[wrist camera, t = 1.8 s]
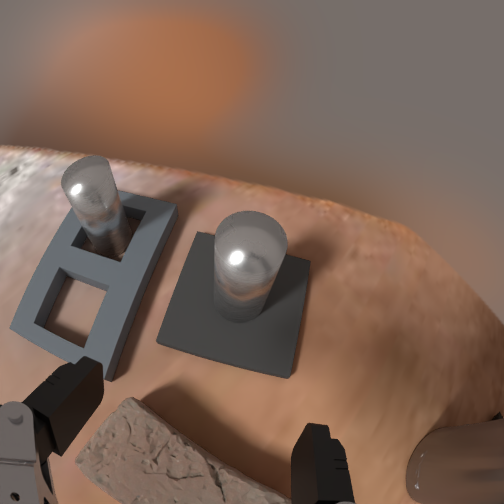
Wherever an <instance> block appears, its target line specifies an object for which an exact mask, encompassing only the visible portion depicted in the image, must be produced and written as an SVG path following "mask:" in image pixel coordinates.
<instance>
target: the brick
mask: <svg viewBox="0 0 504 504" xmlns="http://www.w3.org/2000/svg"><path fill="white" fill-rule="evenodd" d="M75 464H76V465H77V467H78V468H79V469H80V470H81V471H82V473H83V474H84V476H85V477H86V478H88V479H89V480H90V481H91V482H93V483H94V484H95V485H96V486H98V487H99V488H100V489H101V490H103V491H104V492H105V493H107V494H108V495H110V496H111V497H113V498H114V499H116V500H117V501H119V502H120V503H122V504H291V499H290V498H287V497H286V496H285V495H283V494H281V493H279V492H278V491H276V490H274V489H272V488H270V487H267V486H265V485H263V484H261V483H258V482H256V481H255V480H253V479H252V478H250V477H248V476H246V475H244V474H243V473H241V472H240V471H239V470H237V469H236V468H233V467H231V466H228V465H227V464H225V463H224V462H222V461H220V460H219V459H218V458H217V457H215V456H214V455H212V454H210V453H209V452H207V451H206V450H204V449H203V448H202V447H200V446H199V445H197V444H196V443H194V442H193V441H191V440H190V439H189V438H188V437H186V436H185V435H183V434H182V433H180V432H179V431H177V430H176V429H175V428H174V427H172V426H171V425H170V424H168V423H167V422H166V421H165V420H163V419H162V418H161V417H160V416H158V415H157V414H156V413H154V412H153V411H152V410H151V409H150V408H148V407H147V406H146V405H145V404H144V403H142V402H141V401H139V400H137V399H135V398H134V397H130V398H126V399H125V400H124V401H123V402H122V403H121V404H120V405H119V406H118V408H117V410H116V411H115V412H113V413H111V414H110V415H109V417H108V418H107V419H106V420H105V421H104V422H103V424H102V425H101V426H100V427H99V428H98V430H97V431H96V432H95V433H94V435H93V436H92V437H91V439H90V440H89V441H88V442H87V443H86V445H85V446H84V448H83V449H82V450H81V451H80V453H79V455H78V456H77V457H76V459H75Z"/></svg>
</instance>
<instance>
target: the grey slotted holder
mask: <svg viewBox="0 0 504 504" xmlns="http://www.w3.org/2000/svg"><path fill="white" fill-rule="evenodd" d="M118 193H119V196H120V199H121V202H122V205H123V208H124V211H125V214H126V216H127V217H131V218H135V219H138V220H142V221H141V222H140V224H139V226H138V228H137V230H136V232H135V234H134V236H133V238H132V240H131V242H130V244H129V246H128V248H127V250H126V252H125V254H124V256H123V258H122V260H121V262H118V261H115V260H112V259H109V258H106V257H103V256H100V255H97V254H94V253H91V252H88V251H85V250H82V249H81V247H82V245H83V244H84V242H85V240H86V238H87V234H86V232H85V230H84V229H83V227H82V225H81V223H80V221H79V219H78V218H77V216H76V214H75V212H74V210H73V208H71V209H70V211H69V213H68V214H67V216H66V217H65V219H64V221H63V222H62V224H61V226H60V227H59V229H58V231H57V232H56V234H55V236H54V237H53V239H52V241H51V243H50V244H49V246H48V248H47V250H46V251H45V253H44V255H43V257H42V259H41V261H40V263H39V265H38V266H37V268H36V270H35V272H34V274H33V276H32V278H31V280H30V282H29V285H28V287H27V289H26V291H25V293H24V295H23V297H22V300H21V302H20V304H19V306H18V309H17V311H16V313H15V316H14V318H13V321H12V323H11V326H10V329H11V330H13V331H14V332H16V333H18V334H19V335H21V336H22V337H24V338H26V339H27V340H29V341H31V342H32V343H34V344H36V345H37V346H39V347H41V348H43V349H44V350H46V351H48V352H50V353H52V354H54V355H55V356H57V357H59V358H61V359H63V360H65V361H67V362H69V363H70V362H71V363H73V364H76V363H77V362H78V361H79V360H80V359H81V358H82V357H83V356H87V357H89V358H91V359H94V360H96V361H98V362H100V363H102V365H103V379H105V380H107V381H110V382H112V379H113V376H114V373H115V370H116V367H117V364H118V361H119V359H120V356H121V353H122V350H123V347H124V344H125V342H126V339H127V336H128V334H129V331H130V328H131V326H132V323H133V320H134V318H135V315H136V313H137V310H138V307H139V305H140V302H141V300H142V297H143V295H144V292H145V290H146V288H147V285H148V283H149V280H150V278H151V276H152V273H153V271H154V268H155V266H156V264H157V262H158V259H159V257H160V255H161V252H162V250H163V248H164V246H165V243H166V241H167V239H168V237H169V235H170V232H171V230H172V228H173V226H174V224H175V222H176V219H177V217H178V210H177V204H174V203H170V202H165V201H161V200H157V199H153V198H148V197H144V196H140V195H135V194H131V193H127V192H122V191H118ZM66 276H69V277H71V278H74V279H76V280H79V281H81V282H84V283H87V284H89V285H92V286H94V287H97V288H100V289H102V290H105V291H107V293H106V295H105V297H104V300H103V302H102V304H101V307H100V309H99V311H98V314H97V316H96V319H95V321H94V324H93V326H92V329H91V331H90V334H89V336H88V339H87V342H86V344H85V347H84V348H82V347H79V346H77V345H75V344H73V343H71V342H69V341H67V340H65V339H63V338H61V337H59V336H57V335H55V334H53V333H51V332H49V331H47V330H46V329H44V326H45V323H46V321H47V318H48V316H49V314H50V311H51V309H52V307H53V304H54V302H55V300H56V298H57V295H58V293H59V291H60V289H61V287H62V285H63V283H64V281H65V278H66Z"/></svg>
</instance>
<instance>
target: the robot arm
mask: <svg viewBox="0 0 504 504" xmlns="http://www.w3.org/2000/svg"><path fill="white" fill-rule="evenodd" d="M103 395H104V380H103V365H102V363H100V362H98V361H96V360H94V359H91V358H89V357H87V356H83V357H82V358H81V359H80V360H79V361H78V362H77V363H76V364H73V363H71V362H70V363H67V364H65V365H62V366H60V367H58V368H57V369H56V370H55V371H54V372H53V373H52V375H50V376H49V377H48V378H47V379H46V381H44V382H43V383H42V384H40V385H39V386H38V387H37V388H36V389H35V390H34V391H33V392H32V393H31V394H30V395H29V396H28V397H27V398H26V399H25V400H24V401H23V402H21V403H20V402H16V401H12V402H7V403H5V404H4V405H0V504H58V501H57V498H56V494H55V490H54V485H53V480H52V475H51V469H50V463H49V458H48V457H49V455H50V454H51V453H52V451H53V452H54V453H56V454H58V455H59V456H61V457H62V455H63V454H64V452H65V451H66V450H67V448H68V447H69V446H70V444H71V443H72V441H73V440H74V439H75V437H76V436H77V435H78V433H79V432H80V430H81V429H82V428H83V426H84V425H85V424H86V422H87V421H88V420H89V418H90V417H91V415H92V414H93V413H94V411H95V410H96V409H97V407H98V406H99V405H100V403H101V401H102V399H103ZM346 460H347V458H346V453H345V449H344V447H343V446H342V445H341V443H340V442H339V440H338V439H331V437H330V431H329V427H328V425H322V424H314V423H308V424H307V425H306V426H305V428H304V430H303V432H302V434H301V435H300V437H299V439H298V441H297V442H296V444H295V446H294V448H293V451H292V456H291V504H356V503H355V500H354V495H353V490H352V484H351V479H350V474H349V470H348V463H347V462H346ZM406 487H407V491H408V493H409V495H410V496H411V498H412V499H413V500H415V501H416V502H418V503H421V504H504V418H503V419H498V420H493V421H488V422H482V423H476V424H468V425H461V426H453V427H444V428H440V429H436V430H435V431H433V432H431V433H430V434H428V435H427V436H426V437H425V438H424V439H423V440H422V441H421V442H420V443H419V445H418V446H417V448H416V449H415V451H414V452H413V454H412V456H411V459H410V461H409V464H408V467H407V472H406Z"/></svg>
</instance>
